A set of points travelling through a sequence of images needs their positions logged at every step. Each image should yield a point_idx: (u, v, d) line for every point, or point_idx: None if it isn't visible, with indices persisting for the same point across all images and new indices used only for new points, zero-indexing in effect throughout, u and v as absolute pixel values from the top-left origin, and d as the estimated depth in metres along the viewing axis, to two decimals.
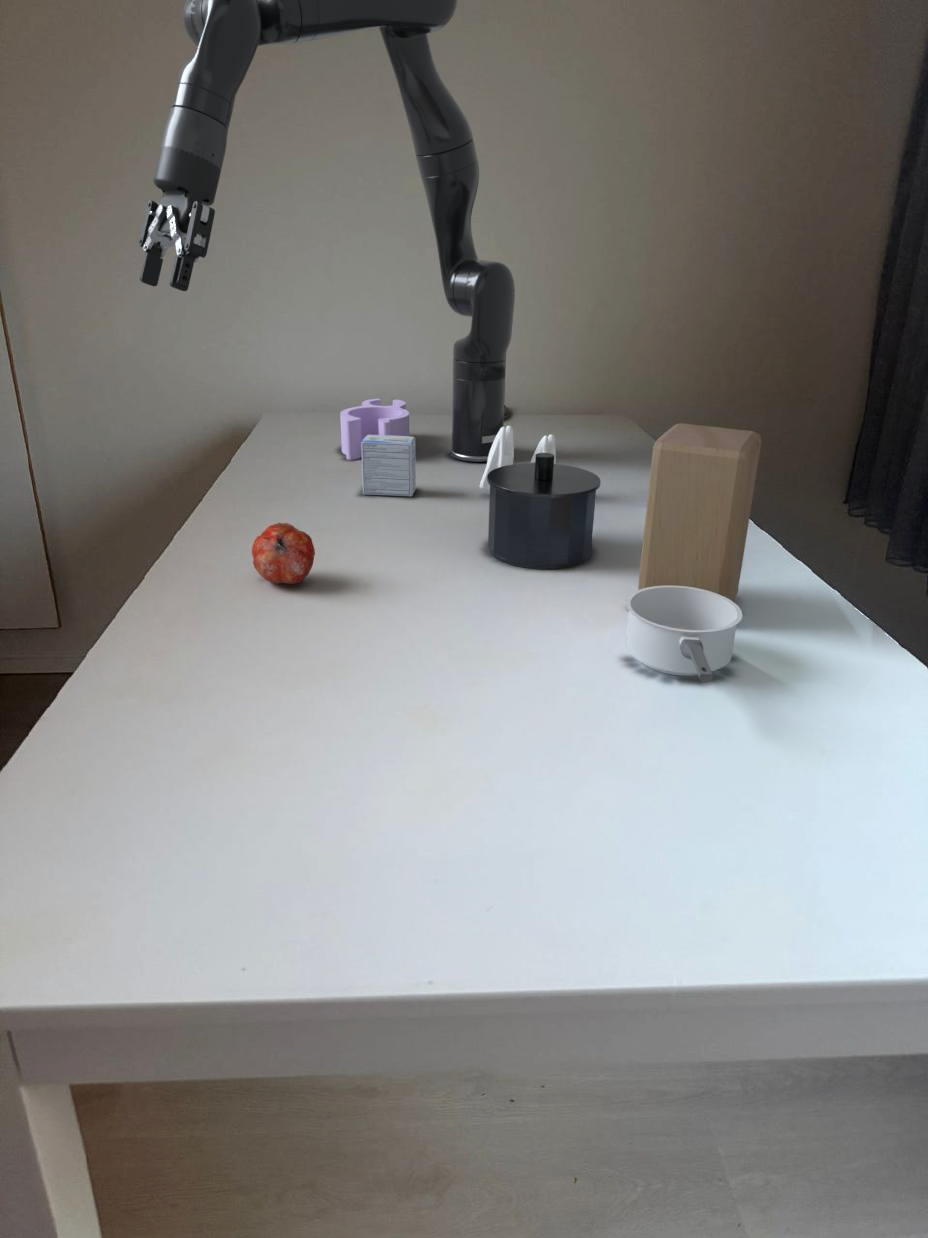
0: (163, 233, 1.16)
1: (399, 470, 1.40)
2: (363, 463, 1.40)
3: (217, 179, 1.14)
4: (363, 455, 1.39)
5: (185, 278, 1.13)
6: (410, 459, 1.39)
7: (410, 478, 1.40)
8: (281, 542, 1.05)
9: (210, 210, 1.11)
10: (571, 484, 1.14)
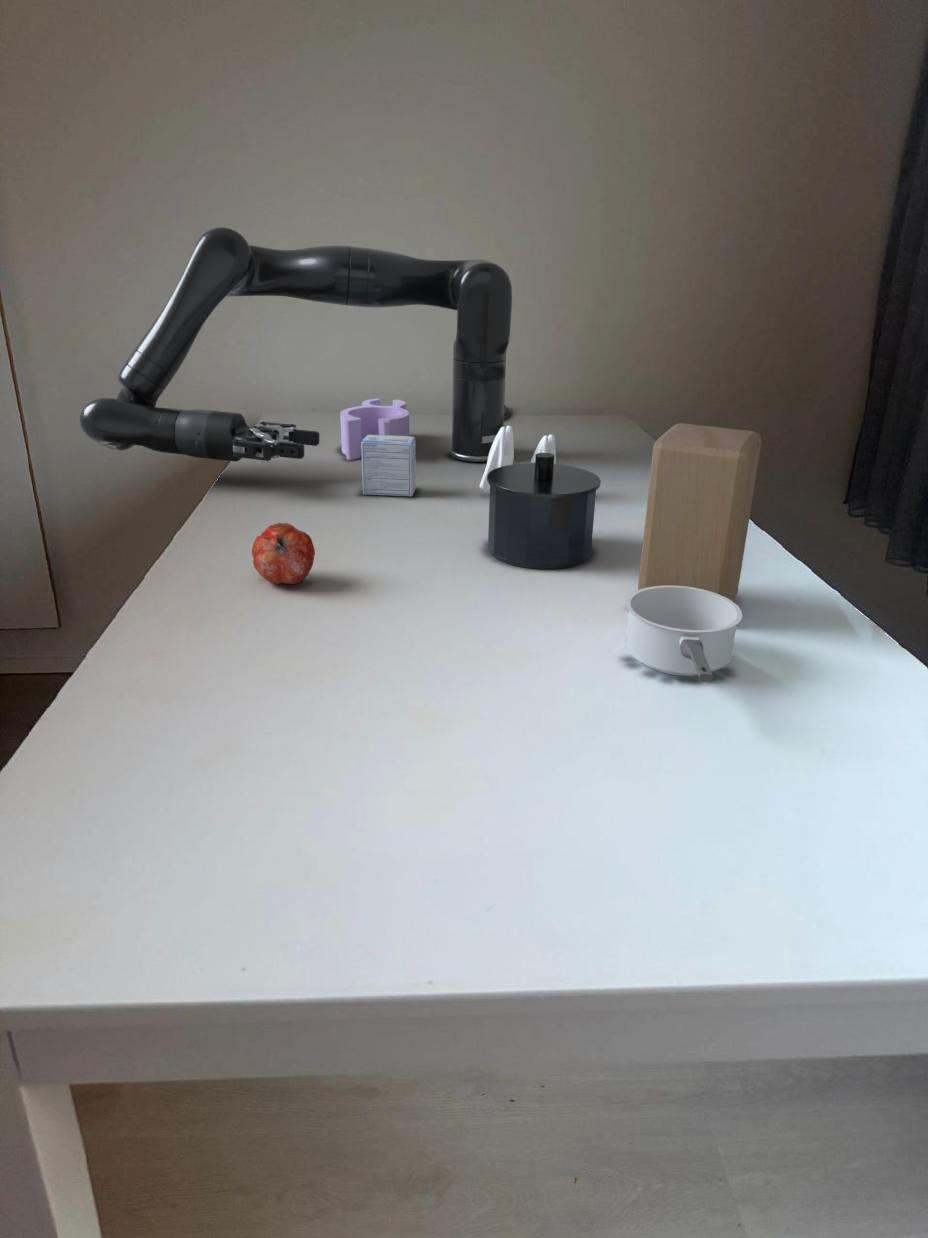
0: None
1: (399, 470, 1.40)
2: (363, 463, 1.40)
3: (214, 422, 1.39)
4: (363, 455, 1.39)
5: (292, 450, 1.37)
6: (410, 459, 1.39)
7: (410, 478, 1.40)
8: (281, 542, 1.05)
9: (234, 444, 1.36)
10: (571, 484, 1.14)
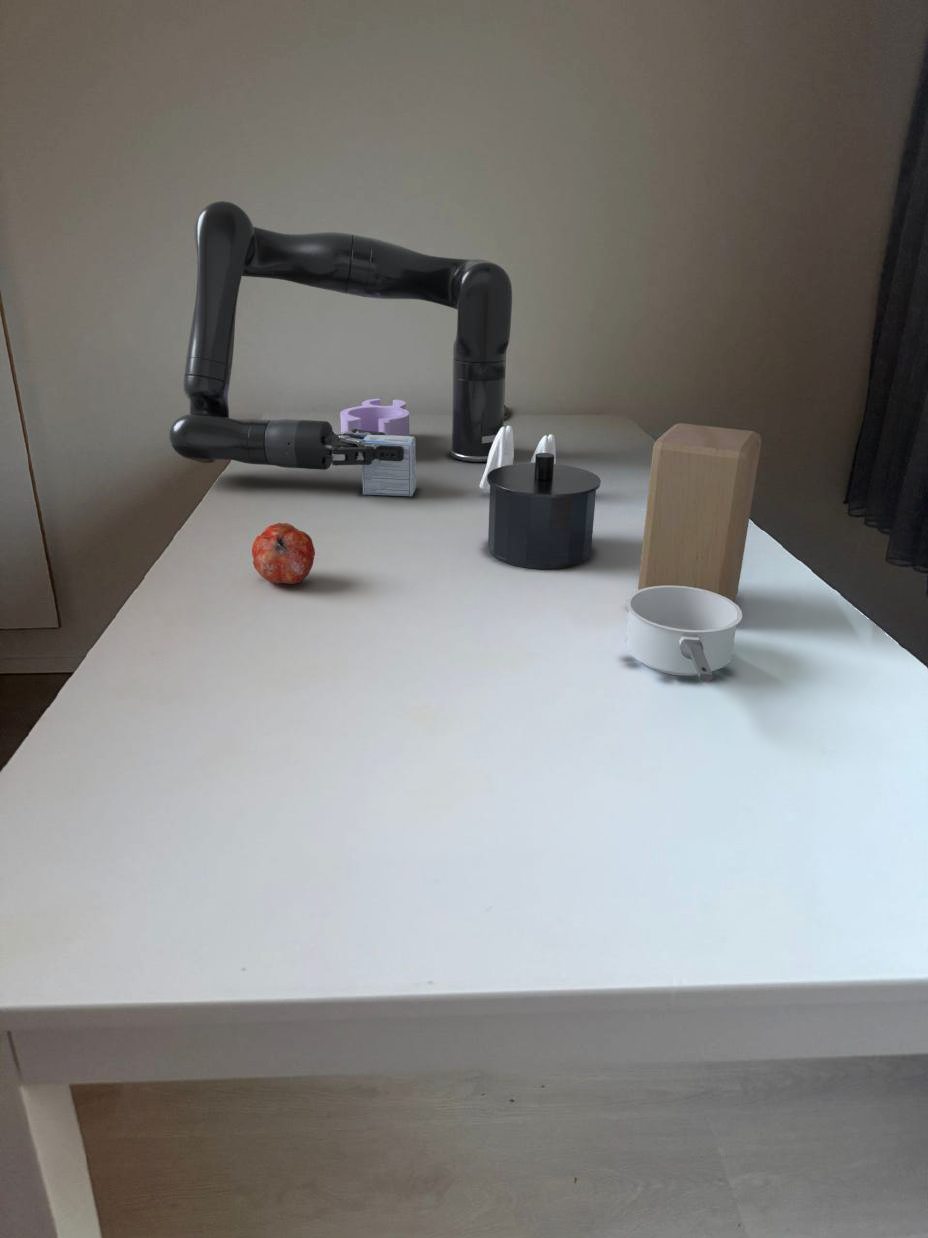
0: None
1: (399, 469, 1.40)
2: None
3: (304, 431, 1.39)
4: None
5: (392, 453, 1.37)
6: (410, 459, 1.39)
7: (410, 478, 1.40)
8: (281, 542, 1.05)
9: (334, 453, 1.35)
10: (571, 484, 1.14)
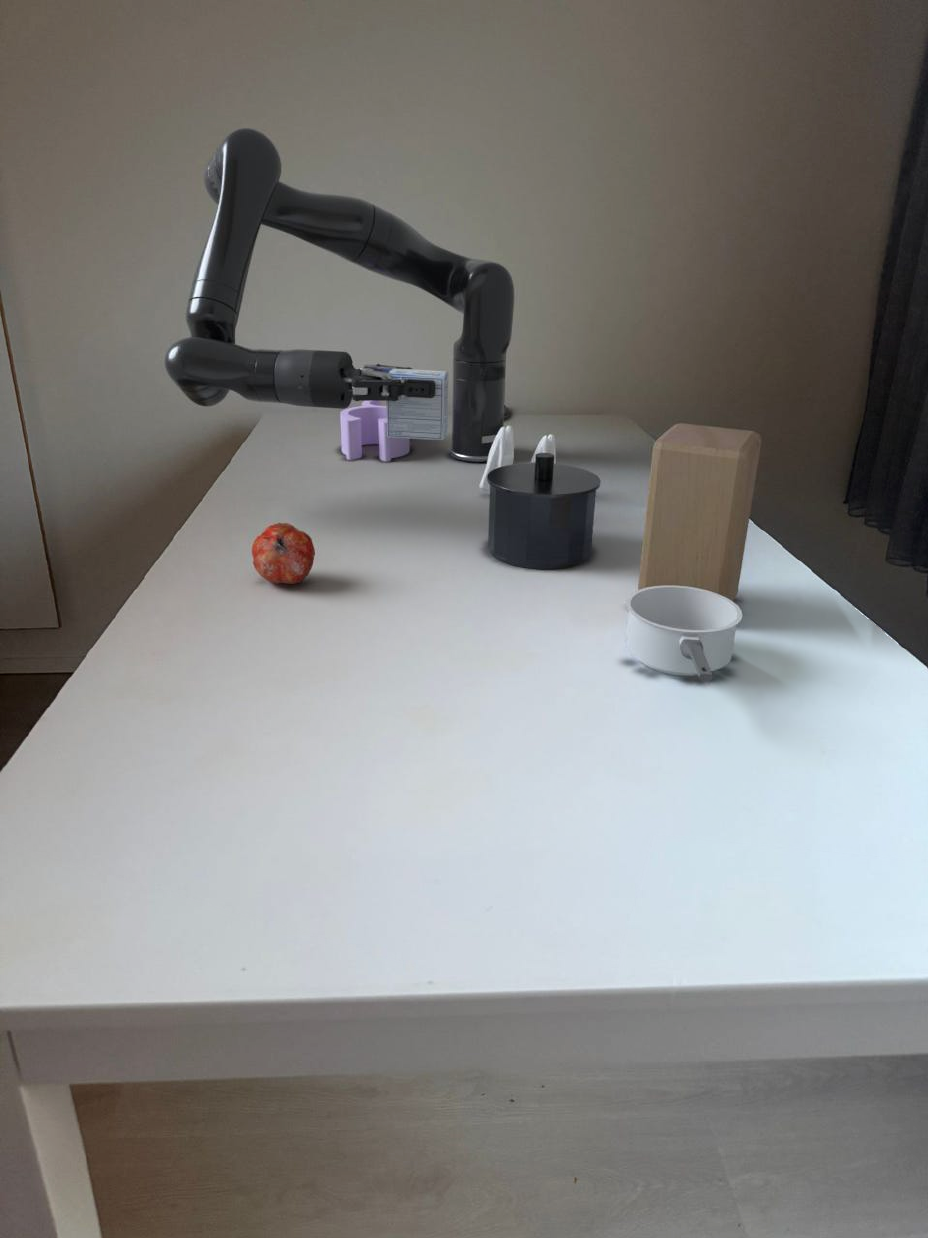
0: None
1: (430, 408, 1.20)
2: None
3: (320, 362, 1.19)
4: None
5: (423, 388, 1.18)
6: (443, 396, 1.20)
7: (442, 418, 1.21)
8: (281, 542, 1.05)
9: (355, 386, 1.16)
10: (571, 484, 1.14)
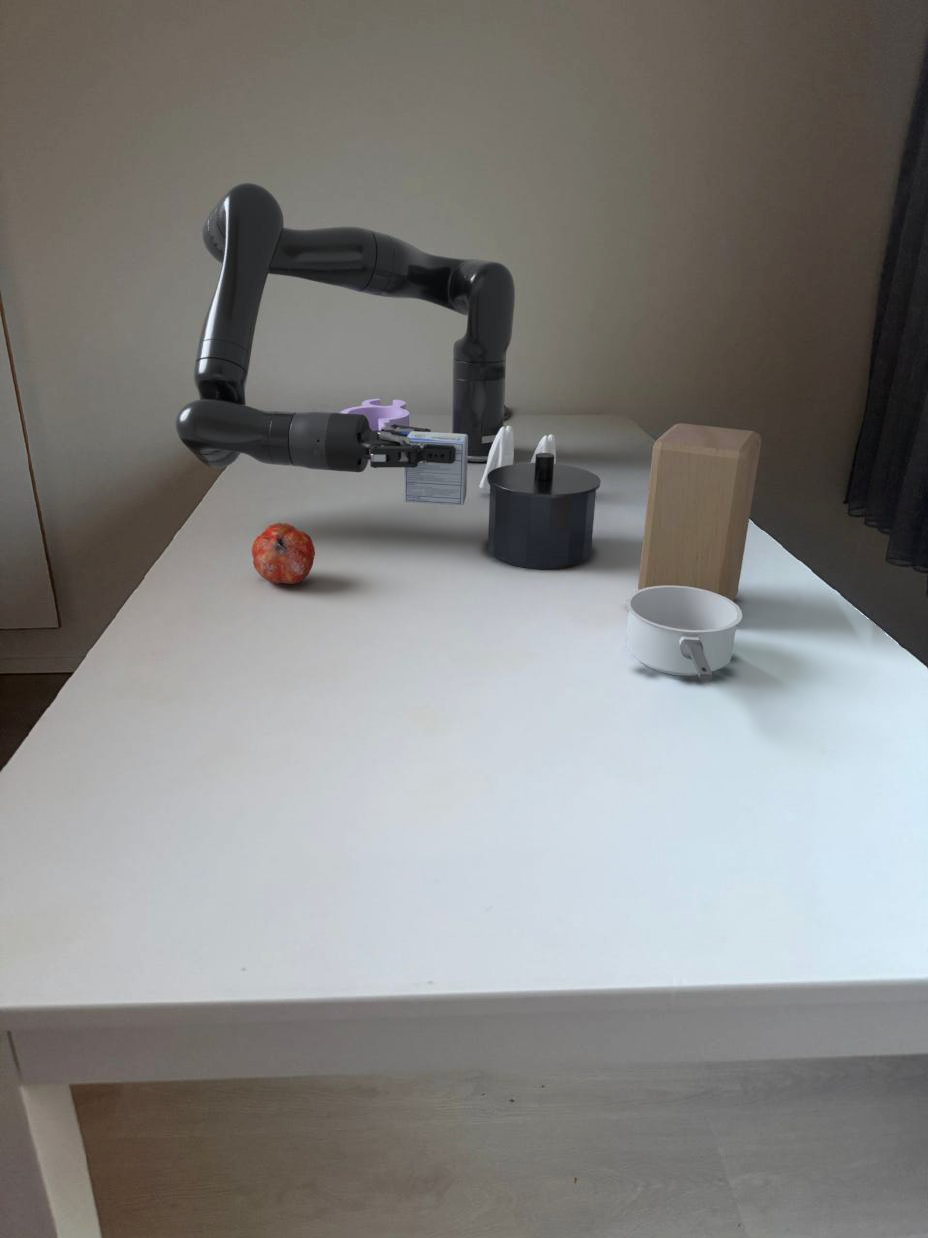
0: None
1: (450, 473, 1.17)
2: None
3: (336, 426, 1.16)
4: None
5: (442, 453, 1.15)
6: (463, 461, 1.16)
7: (462, 484, 1.17)
8: (281, 542, 1.05)
9: (374, 453, 1.12)
10: (571, 484, 1.14)
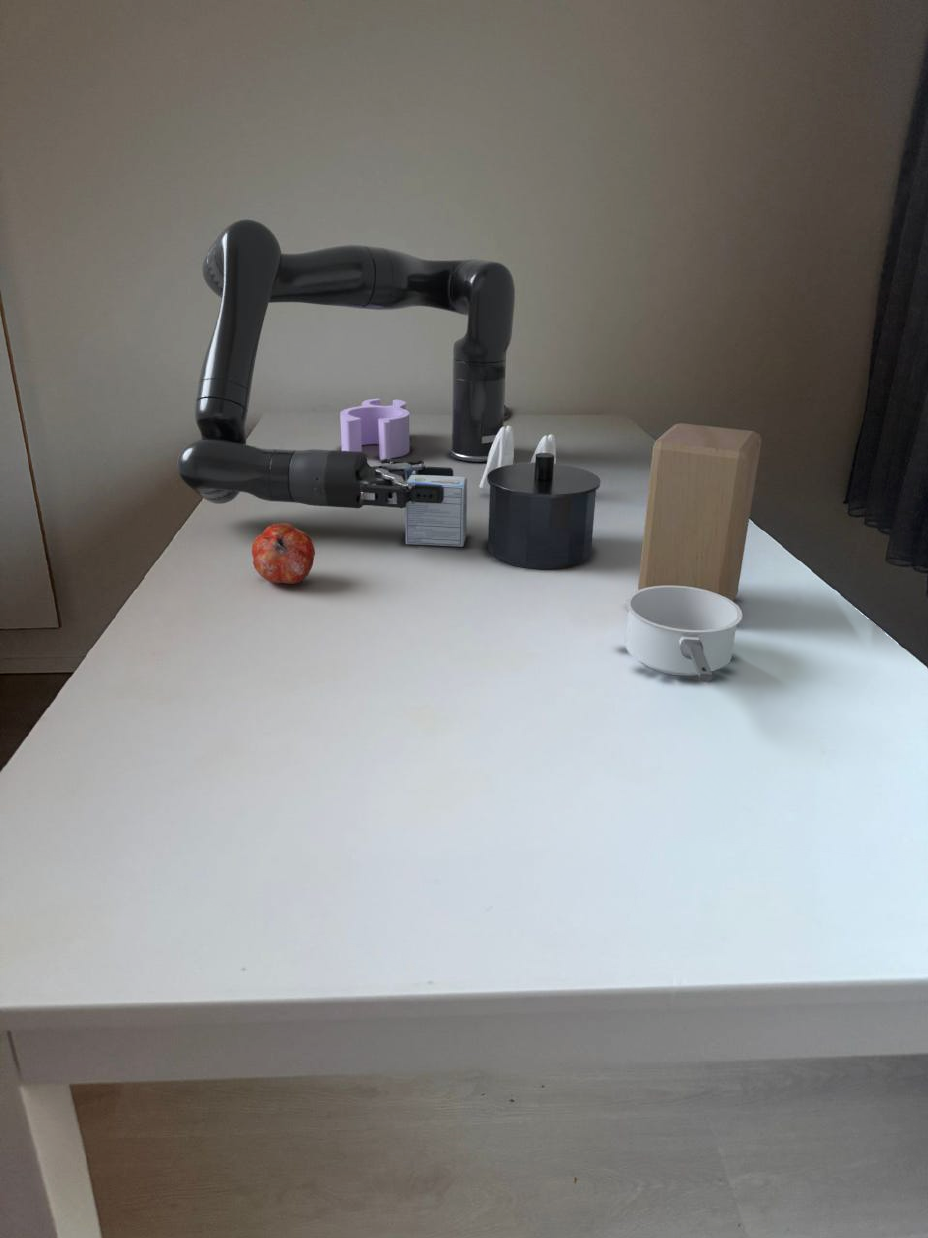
0: None
1: (449, 516, 1.20)
2: (407, 508, 1.20)
3: (335, 464, 1.18)
4: None
5: (431, 493, 1.15)
6: (462, 504, 1.19)
7: (461, 526, 1.20)
8: (281, 542, 1.05)
9: (362, 491, 1.15)
10: (571, 484, 1.14)
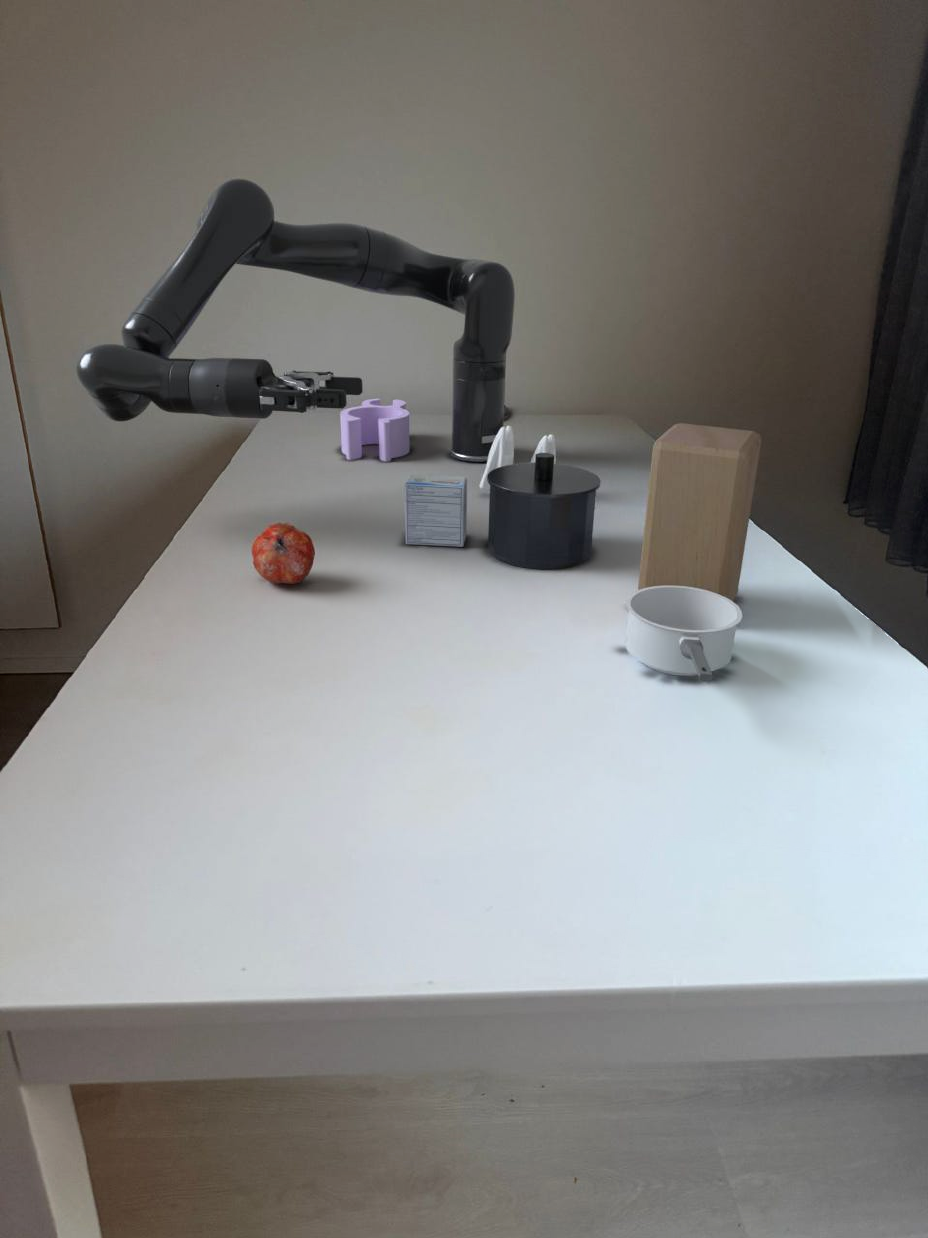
0: None
1: (449, 516, 1.20)
2: (407, 508, 1.20)
3: (236, 370, 1.15)
4: (407, 499, 1.19)
5: (332, 398, 1.12)
6: (462, 504, 1.19)
7: (461, 526, 1.20)
8: (281, 542, 1.05)
9: (261, 395, 1.11)
10: (571, 484, 1.14)
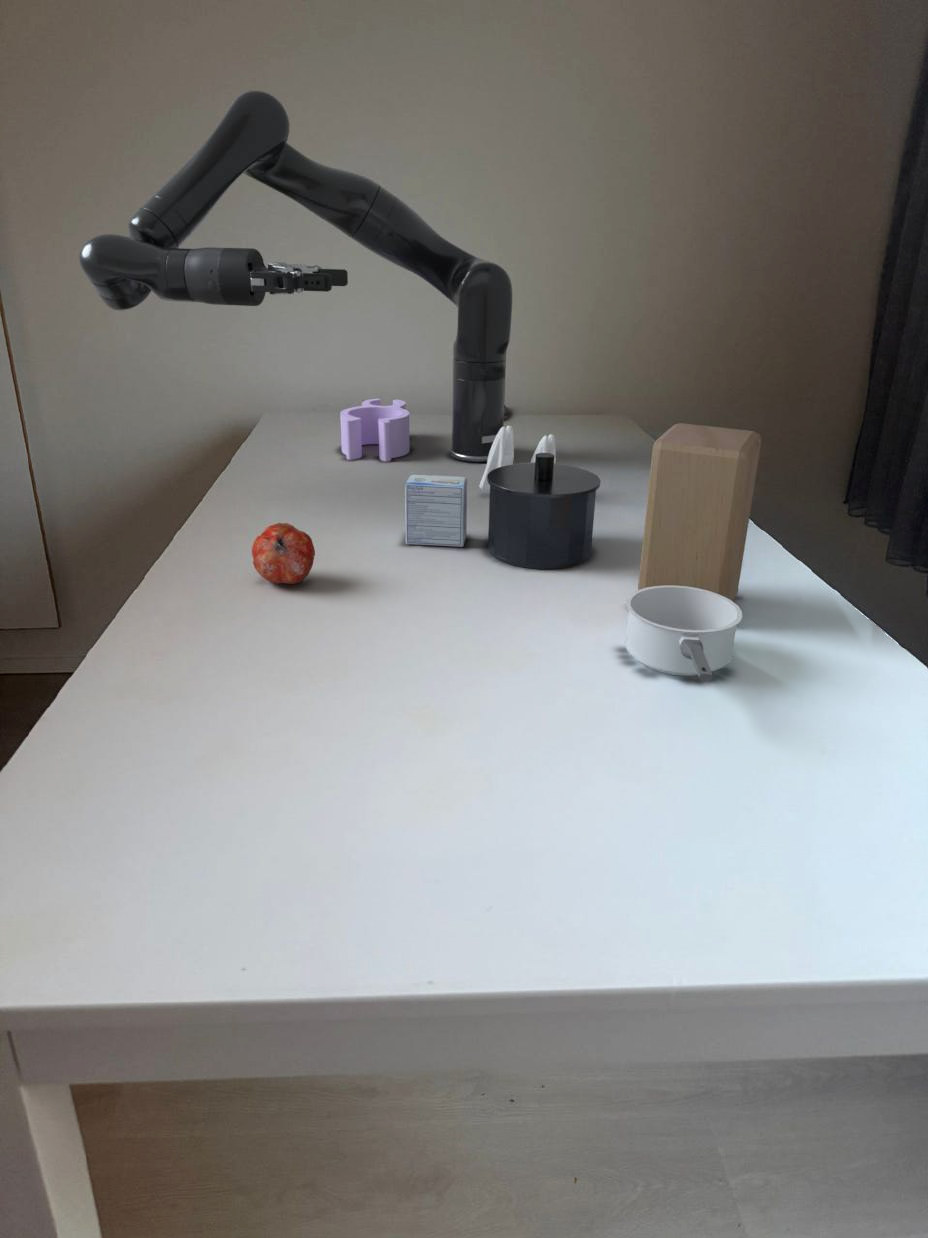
0: None
1: (449, 516, 1.20)
2: (407, 508, 1.20)
3: (228, 257, 1.23)
4: (407, 499, 1.19)
5: (318, 280, 1.20)
6: (462, 504, 1.19)
7: (461, 526, 1.20)
8: (281, 542, 1.05)
9: (251, 276, 1.19)
10: (571, 484, 1.14)
